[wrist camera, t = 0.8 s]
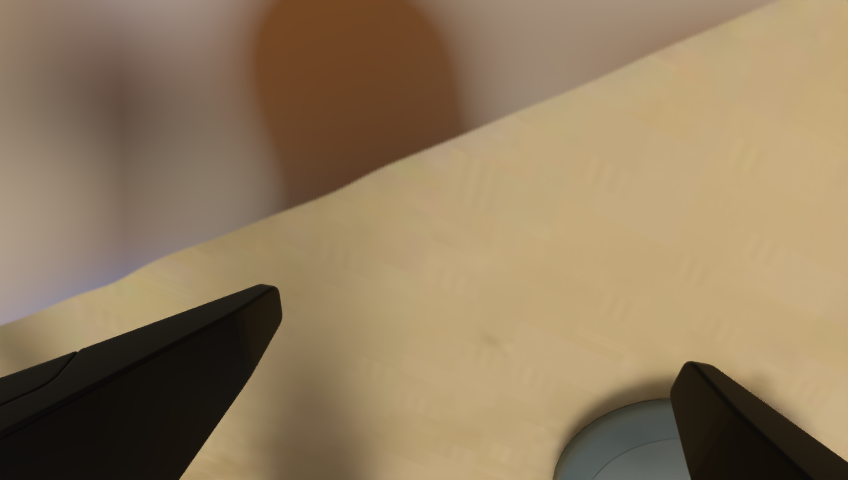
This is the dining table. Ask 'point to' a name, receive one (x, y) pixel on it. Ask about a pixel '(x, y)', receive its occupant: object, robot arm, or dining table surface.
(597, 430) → the dish
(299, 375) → the dining table surface
